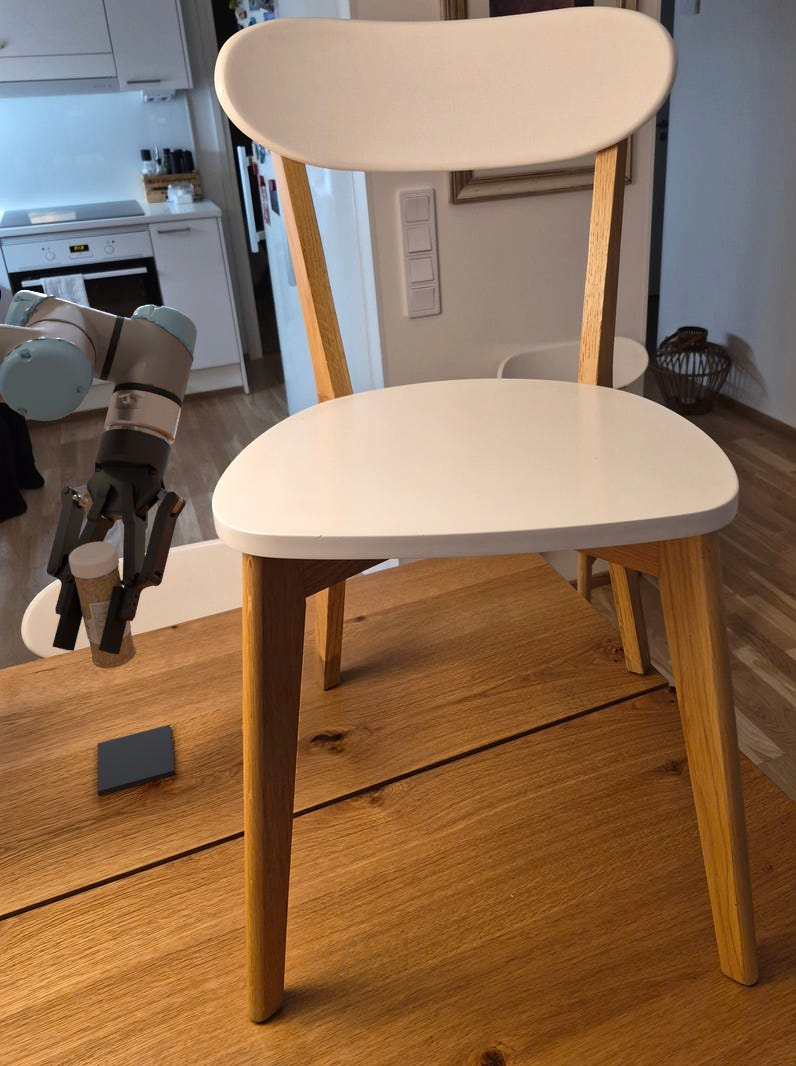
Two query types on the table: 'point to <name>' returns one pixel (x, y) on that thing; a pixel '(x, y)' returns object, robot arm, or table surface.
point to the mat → (135, 759)
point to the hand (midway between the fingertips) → (86, 650)
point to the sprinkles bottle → (99, 598)
